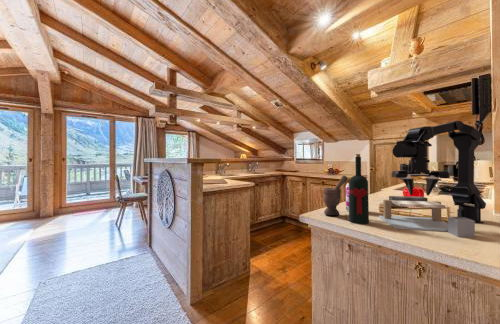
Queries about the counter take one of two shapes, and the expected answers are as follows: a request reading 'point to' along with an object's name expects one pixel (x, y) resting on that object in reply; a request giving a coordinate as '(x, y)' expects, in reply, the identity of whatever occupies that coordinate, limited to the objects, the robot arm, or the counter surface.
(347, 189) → the supplement can
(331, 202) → the mortar and pestle
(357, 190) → the wine bottle
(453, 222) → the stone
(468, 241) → the counter surface
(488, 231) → the counter surface
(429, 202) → the trapdoor
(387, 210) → the frame
